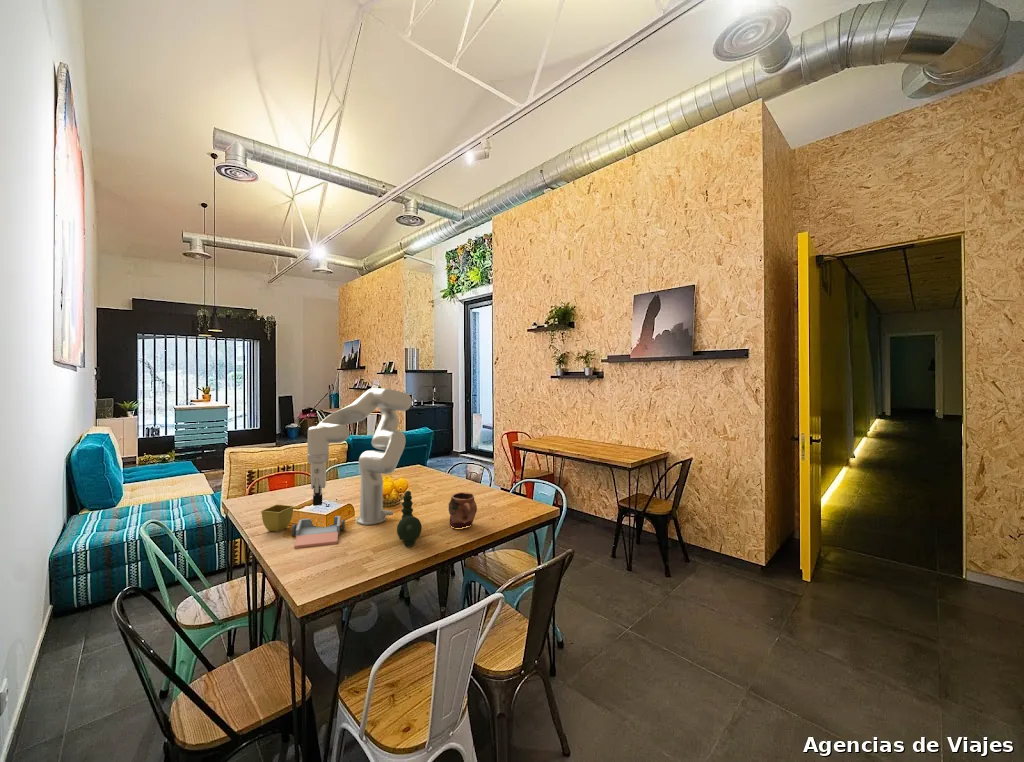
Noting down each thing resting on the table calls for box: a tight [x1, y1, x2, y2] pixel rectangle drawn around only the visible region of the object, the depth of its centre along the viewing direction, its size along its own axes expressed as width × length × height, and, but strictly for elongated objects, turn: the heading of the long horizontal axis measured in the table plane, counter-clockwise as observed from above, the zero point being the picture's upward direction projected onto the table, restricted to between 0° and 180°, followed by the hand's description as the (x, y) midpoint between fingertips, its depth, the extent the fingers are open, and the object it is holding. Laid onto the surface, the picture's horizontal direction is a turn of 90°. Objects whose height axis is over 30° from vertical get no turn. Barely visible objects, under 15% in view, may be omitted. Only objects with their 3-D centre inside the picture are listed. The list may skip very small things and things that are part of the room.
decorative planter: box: [448, 492, 478, 528], centre depth 185 cm, size 20×12×14 cm, turn 29°
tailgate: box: [293, 531, 340, 549], centre depth 165 cm, size 1×16×8 cm
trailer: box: [291, 515, 346, 537], centre depth 177 cm, size 16×20×4 cm
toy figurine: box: [396, 490, 423, 547], centre depth 169 cm, size 9×19×25 cm
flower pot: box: [260, 504, 294, 532], centre depth 178 cm, size 9×9×9 cm
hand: (317, 504), depth 165 cm, fingers closed
